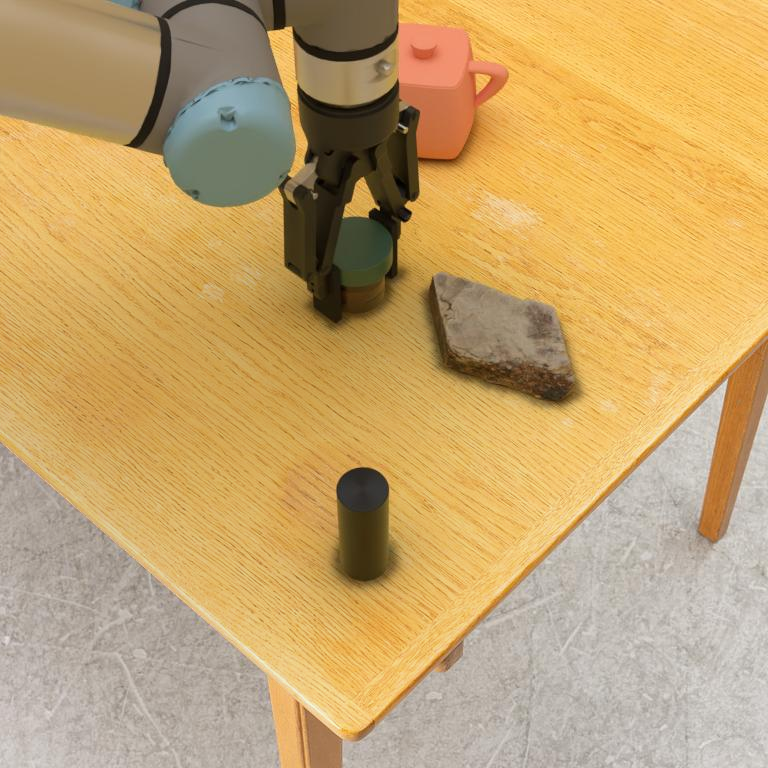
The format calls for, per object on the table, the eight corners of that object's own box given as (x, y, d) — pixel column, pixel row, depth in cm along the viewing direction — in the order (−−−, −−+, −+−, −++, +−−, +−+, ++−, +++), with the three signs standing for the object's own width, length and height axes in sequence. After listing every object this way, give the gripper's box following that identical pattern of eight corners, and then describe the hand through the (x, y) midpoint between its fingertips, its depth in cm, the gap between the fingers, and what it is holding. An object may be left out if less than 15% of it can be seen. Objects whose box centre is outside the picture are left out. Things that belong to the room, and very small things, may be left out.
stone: (595, 337, 101) (600, 314, 98) (566, 409, 96) (571, 387, 94) (432, 288, 104) (434, 264, 102) (398, 355, 99) (398, 332, 97)
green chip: (322, 290, 98) (320, 274, 97) (314, 236, 102) (313, 220, 101) (397, 282, 99) (397, 266, 97) (387, 229, 103) (387, 212, 101)
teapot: (497, 174, 113) (506, 87, 105) (313, 154, 115) (308, 67, 106) (507, 98, 120) (517, 11, 112) (334, 81, 122) (331, -7, 113)
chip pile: (351, 323, 102) (350, 291, 98) (314, 289, 104) (312, 256, 101) (396, 295, 104) (397, 262, 100) (359, 261, 106) (359, 229, 103)
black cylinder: (343, 584, 86) (339, 514, 78) (337, 542, 88) (333, 469, 81) (391, 579, 87) (392, 508, 79) (384, 536, 89) (385, 464, 81)
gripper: (287, 169, 80) (308, 377, 98) (473, 39, 88) (460, 253, 106) (214, 120, 83) (246, 330, 101) (400, -1, 91) (399, 213, 110)
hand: (356, 290), depth 104 cm, fingers closed on green chip, 6 cm apart
